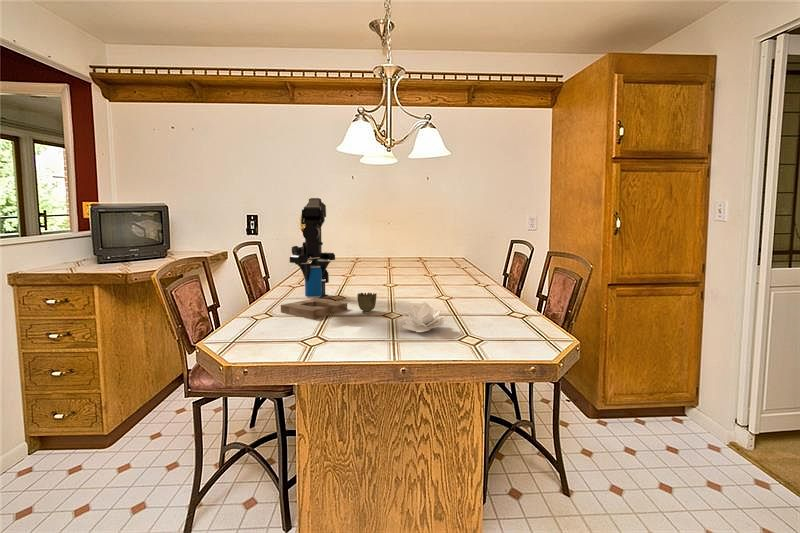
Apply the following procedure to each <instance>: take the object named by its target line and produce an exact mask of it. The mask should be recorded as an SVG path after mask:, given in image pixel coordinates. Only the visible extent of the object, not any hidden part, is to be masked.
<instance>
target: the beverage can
mask: <svg viewBox="0 0 800 533" xmlns="http://www.w3.org/2000/svg"><path fill="white" fill-rule="evenodd" d="M320 267H321V266H311V267H310V274H309V280H308V281H306V280H305V279H304V292H305V293H304V294H305V295H304V296H305V297H306V298H307V299H315V298H316V299H321V298H322V297H321V296H322V269H321V268H320Z"/></svg>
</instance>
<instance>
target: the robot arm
mask: <svg viewBox="0 0 800 533" xmlns="http://www.w3.org/2000/svg"><path fill="white" fill-rule="evenodd" d="M326 206H327V205H326V204H325V203H324V202H323V201H322V198H319V197H310V198H308V203H307V204H305V206H304V207H303V209H301V217H300V218H301V220H300V222H301V223H300V224H301V225H305V226H304V227H303V230H302V236H303V239H304V242H302V246H298V245H293V246H292V247H291V255H290V257H289V263H291V264H295V265H297V267H299V268H300V271H301V272H302V275H303V279H304V281H305V280H306V281H308V280H309V274H310V267H311V266H321V267H320V268H321V269H322V296H321V297H320V298H323V297H328V296H329V294H326V284H329V280H330V279H329V277H330V276H329V272H328V269H327V268H328V266H329V264H330V263H331V261H336V255H335V253H334V252H326V251H325V252H322V251H323V249H322V245H323V244H324V243H323V242H322V226H323V224H324V223H325V221H326V219H325V218H327V208H326ZM309 261H311V262H310V263H309Z"/></svg>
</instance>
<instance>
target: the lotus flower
mask: <svg viewBox="0 0 800 533" xmlns="http://www.w3.org/2000/svg"><path fill="white" fill-rule="evenodd" d="M410 306H411V309H412V312H411V311H409V310H407V311H406V312H407V315H408V317H407V316H406V315H404V314H403V315H402V316H403V317H404V318H405V319H407V320H404V323H405V324H403V325H402V327H401V328H402V329H405V330H408V331H413V332H415V333H423V332H428V331H430V330H431V329H435V328H438V327H443V326H444V324H445V322H446V320H445V319H444V318H445V315H441V316H440V313H441V310H439V311H437V312H436V310H435V309H434V307H433V306H431V305H429V304H428V303H427V302H426V301H423V303H421V305H419V307H418V306H415V307H413V305H410ZM443 319H444V320H443Z"/></svg>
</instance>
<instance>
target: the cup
mask: <svg viewBox="0 0 800 533" xmlns="http://www.w3.org/2000/svg"><path fill="white" fill-rule="evenodd" d="M356 295H357V296H356V297H357V303H358V307H359V309H360V310H361V311H362V312H361V313H362V314H371V313H373V311H374V309H375V308H376V303H377V292H376V293H375V292H373V293H372V292H358V293H357V294H356Z"/></svg>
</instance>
